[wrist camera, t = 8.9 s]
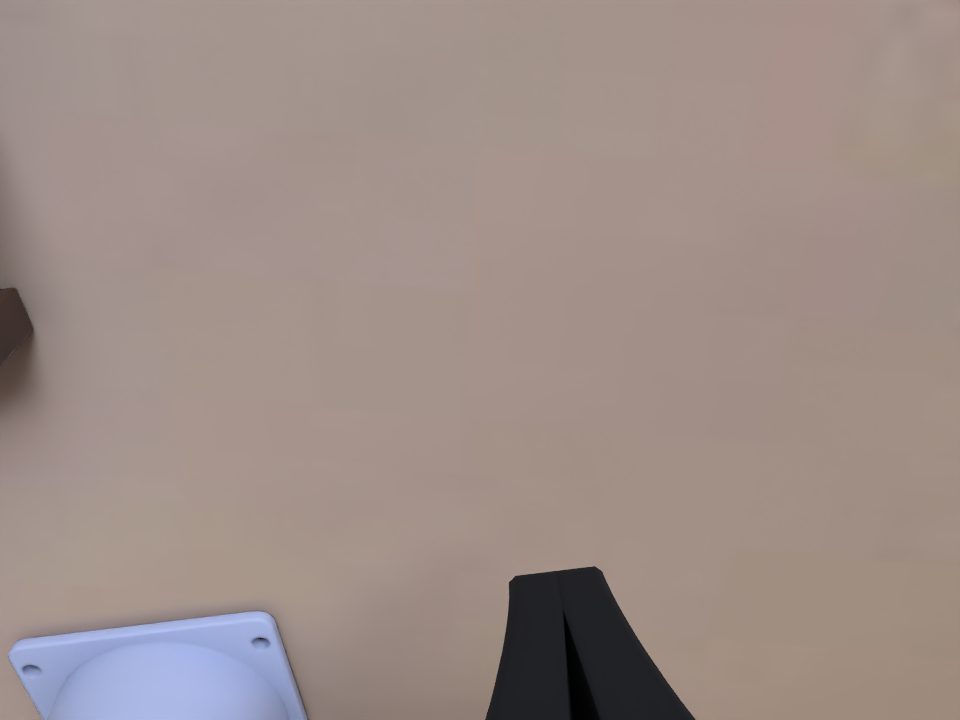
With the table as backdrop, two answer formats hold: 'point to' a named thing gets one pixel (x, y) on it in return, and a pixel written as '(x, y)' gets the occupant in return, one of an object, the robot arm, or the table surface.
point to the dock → (12, 323)
